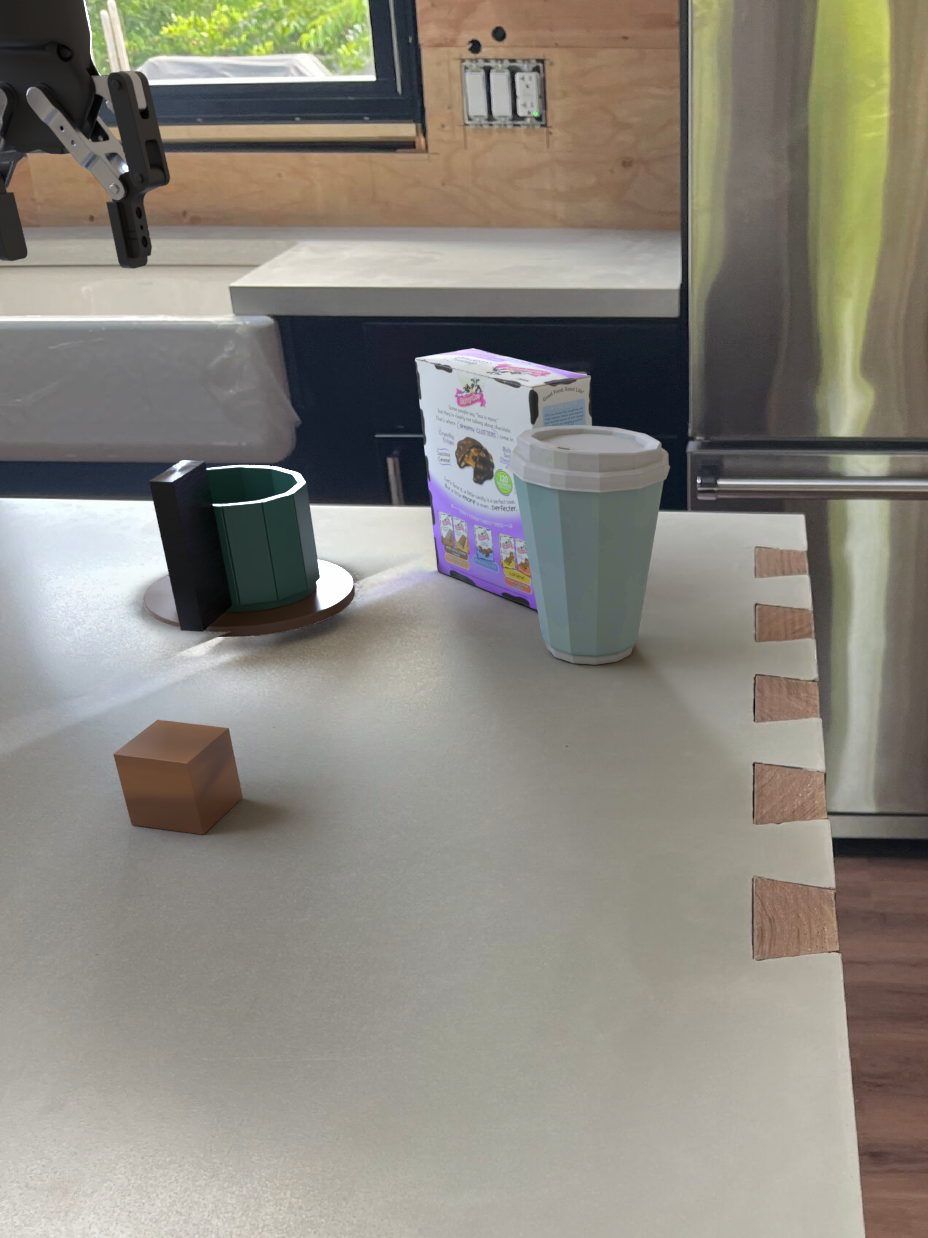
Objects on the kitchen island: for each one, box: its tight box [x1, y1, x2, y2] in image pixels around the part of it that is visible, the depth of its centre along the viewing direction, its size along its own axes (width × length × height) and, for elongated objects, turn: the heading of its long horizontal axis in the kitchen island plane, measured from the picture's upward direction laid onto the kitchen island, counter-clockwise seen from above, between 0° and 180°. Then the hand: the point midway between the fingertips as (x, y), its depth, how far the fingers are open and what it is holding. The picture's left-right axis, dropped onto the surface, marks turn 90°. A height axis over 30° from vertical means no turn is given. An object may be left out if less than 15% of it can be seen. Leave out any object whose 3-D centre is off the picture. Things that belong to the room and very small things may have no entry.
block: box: [112, 719, 243, 835], centre depth 74 cm, size 4×4×4 cm
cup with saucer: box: [142, 459, 356, 638], centre depth 95 cm, size 18×15×11 cm
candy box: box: [414, 348, 593, 611], centre depth 101 cm, size 14×6×16 cm, turn 46°
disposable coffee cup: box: [508, 425, 671, 666], centre depth 91 cm, size 11×11×15 cm
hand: (74, 263), depth 85 cm, fingers open, 8 cm apart
